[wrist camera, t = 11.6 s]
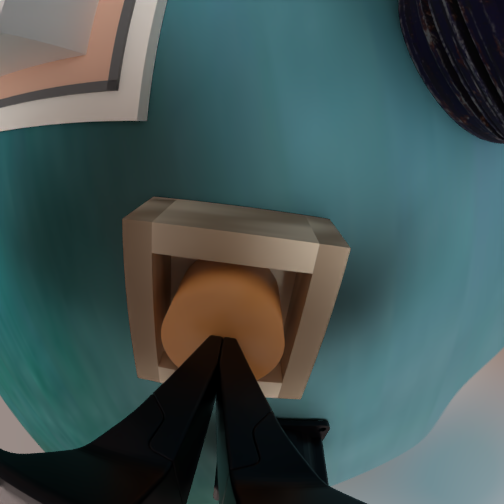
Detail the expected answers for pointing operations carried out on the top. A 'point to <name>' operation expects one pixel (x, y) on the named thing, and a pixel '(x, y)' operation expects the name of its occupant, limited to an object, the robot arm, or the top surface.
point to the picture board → (91, 73)
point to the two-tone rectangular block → (43, 31)
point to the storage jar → (460, 59)
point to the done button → (226, 313)
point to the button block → (234, 252)
